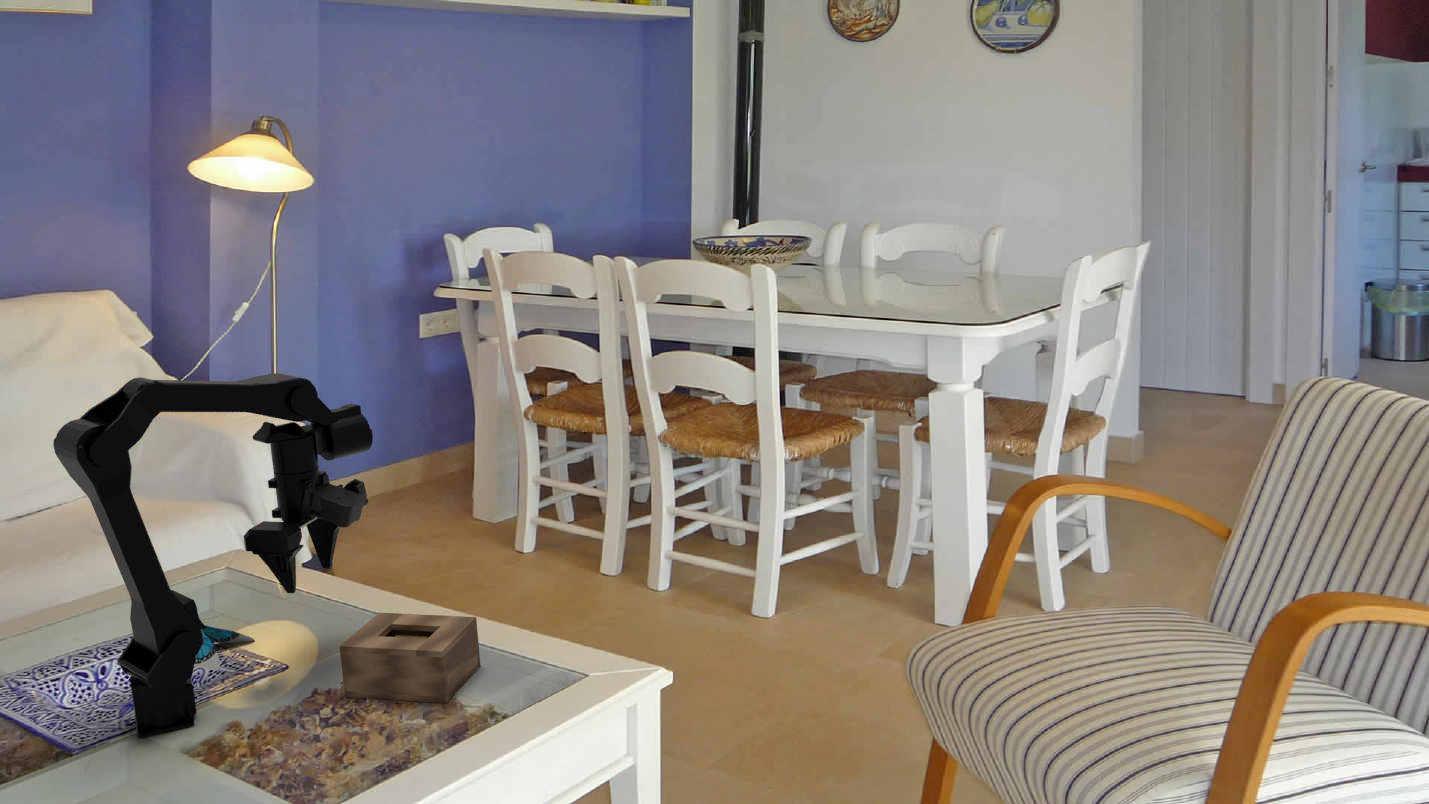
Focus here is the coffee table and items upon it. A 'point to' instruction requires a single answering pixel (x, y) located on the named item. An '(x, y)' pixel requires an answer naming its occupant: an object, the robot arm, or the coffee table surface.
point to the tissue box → (410, 657)
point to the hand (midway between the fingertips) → (309, 580)
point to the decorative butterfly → (208, 653)
